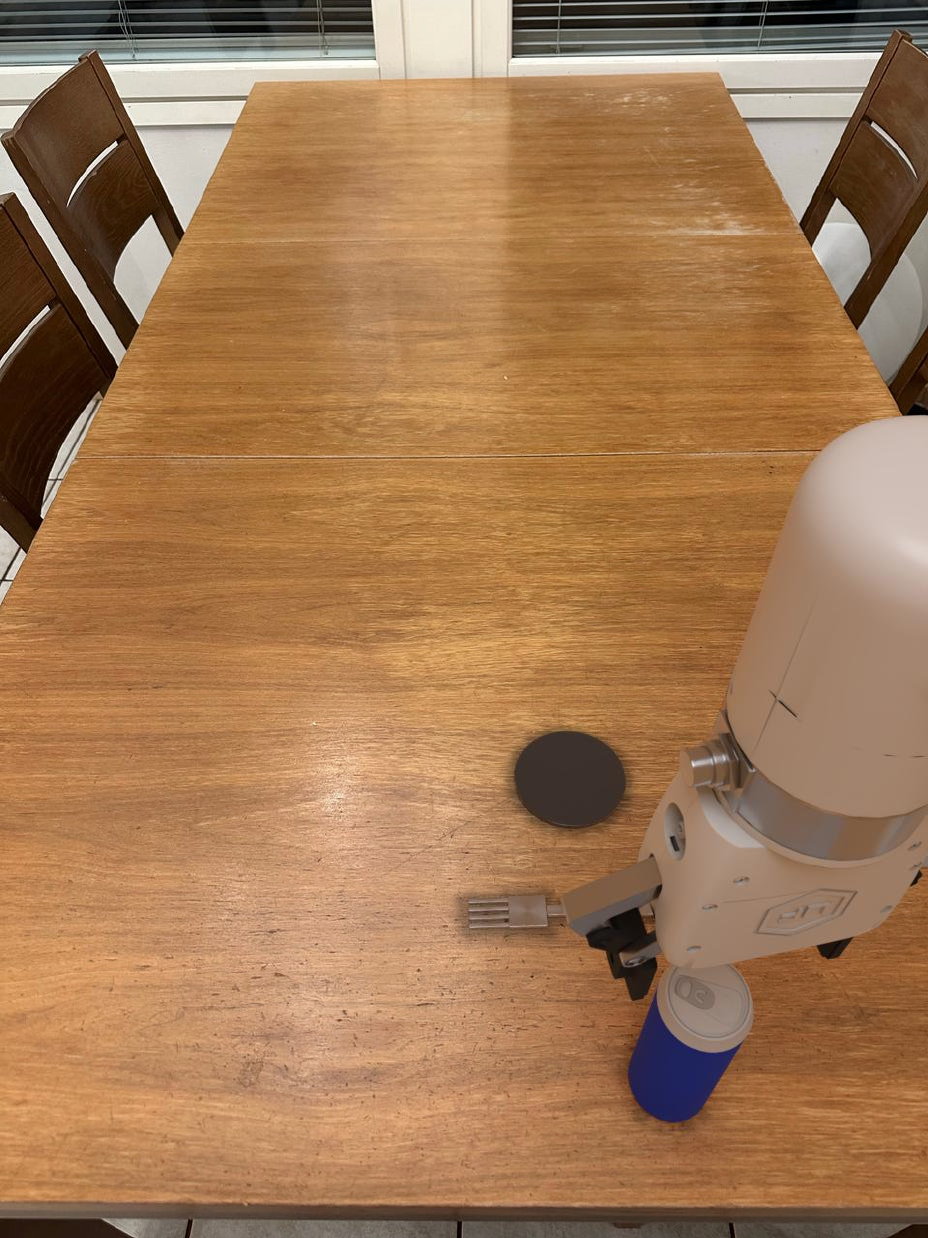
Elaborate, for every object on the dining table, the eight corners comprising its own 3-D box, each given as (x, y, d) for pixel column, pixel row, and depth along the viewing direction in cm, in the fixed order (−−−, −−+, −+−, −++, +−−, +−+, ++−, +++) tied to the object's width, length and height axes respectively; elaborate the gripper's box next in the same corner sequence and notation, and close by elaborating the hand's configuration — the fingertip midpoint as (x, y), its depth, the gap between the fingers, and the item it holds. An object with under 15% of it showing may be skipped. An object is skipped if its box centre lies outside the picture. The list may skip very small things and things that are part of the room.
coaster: (641, 759, 78) (642, 757, 78) (598, 847, 73) (599, 844, 72) (542, 718, 81) (543, 715, 81) (494, 799, 76) (494, 796, 75)
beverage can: (716, 1061, 62) (768, 972, 51) (694, 1140, 59) (744, 1064, 48) (641, 1027, 64) (675, 933, 53) (616, 1102, 61) (646, 1020, 49)
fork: (711, 891, 70) (712, 889, 70) (718, 922, 69) (719, 920, 68) (468, 899, 70) (468, 897, 70) (469, 930, 68) (469, 928, 68)
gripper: (619, 897, 29) (572, 1067, 42) (1112, 799, 32) (926, 989, 45) (556, 706, 34) (531, 911, 47) (987, 634, 37) (851, 848, 49)
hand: (723, 949), depth 46 cm, fingers open, 9 cm apart
